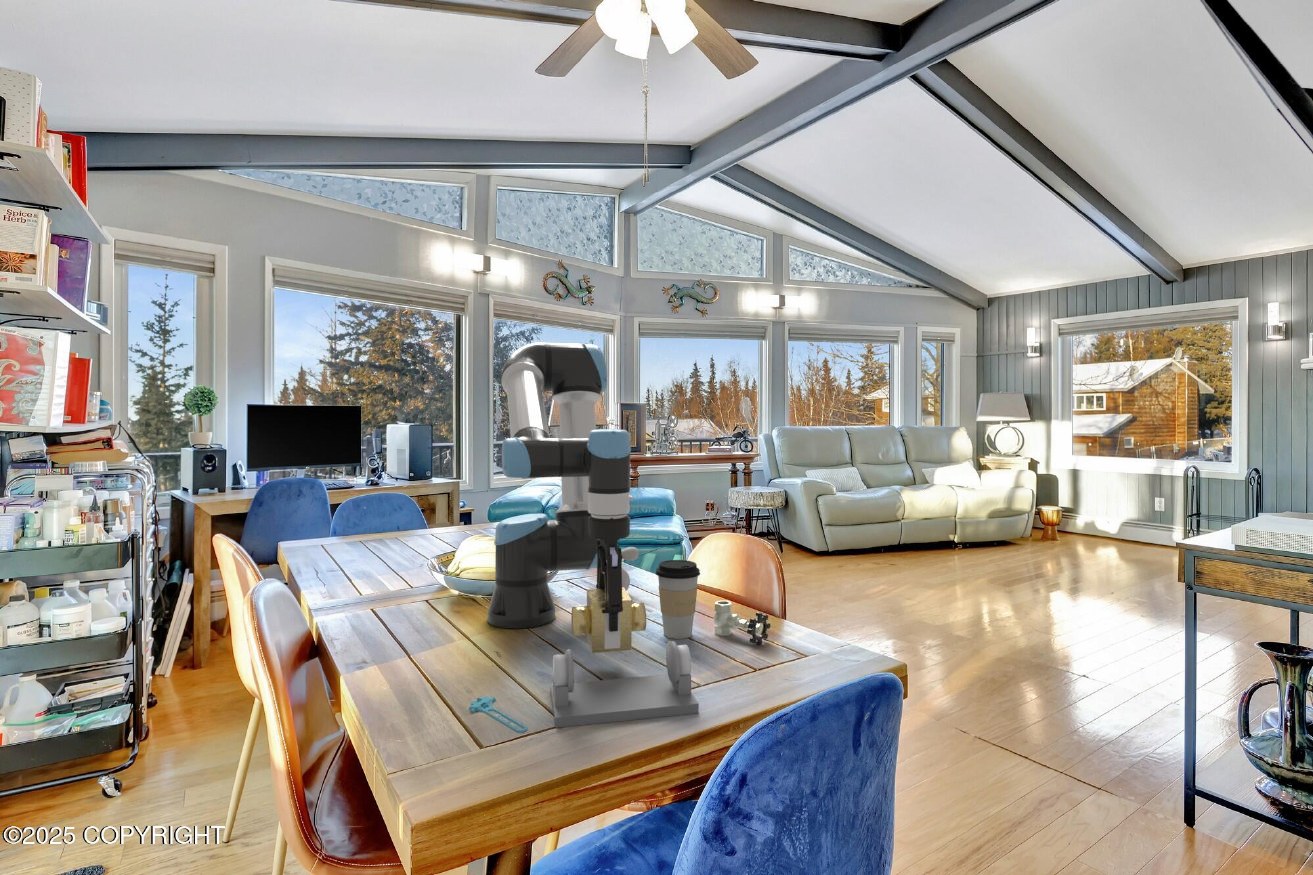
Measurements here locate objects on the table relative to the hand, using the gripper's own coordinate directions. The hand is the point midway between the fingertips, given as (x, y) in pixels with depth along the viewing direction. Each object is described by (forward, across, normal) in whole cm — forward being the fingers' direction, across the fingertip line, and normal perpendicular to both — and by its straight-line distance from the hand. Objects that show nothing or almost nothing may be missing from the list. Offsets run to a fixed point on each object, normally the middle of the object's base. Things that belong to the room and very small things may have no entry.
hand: (608, 638), depth 117 cm
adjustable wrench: (+6, -15, +19) cm, 25 cm away
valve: (+6, +11, -29) cm, 31 cm away
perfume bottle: (+7, +49, -10) cm, 51 cm away
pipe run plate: (+5, -15, 0) cm, 16 cm away
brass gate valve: (+1, 0, 0) cm, 1 cm away
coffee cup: (+6, +15, -17) cm, 24 cm away
